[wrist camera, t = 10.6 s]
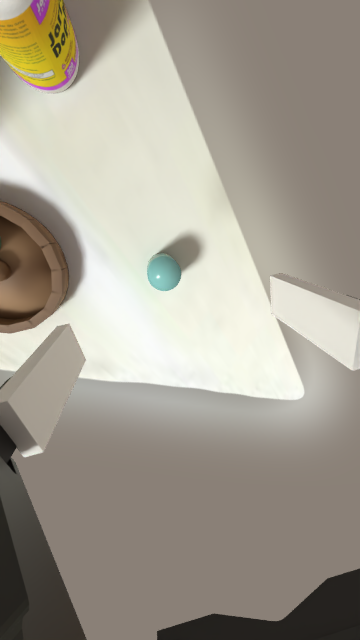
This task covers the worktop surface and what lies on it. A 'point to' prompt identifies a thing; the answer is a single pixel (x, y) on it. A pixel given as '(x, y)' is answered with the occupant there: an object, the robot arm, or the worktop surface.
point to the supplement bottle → (39, 43)
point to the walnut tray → (28, 271)
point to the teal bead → (163, 272)
